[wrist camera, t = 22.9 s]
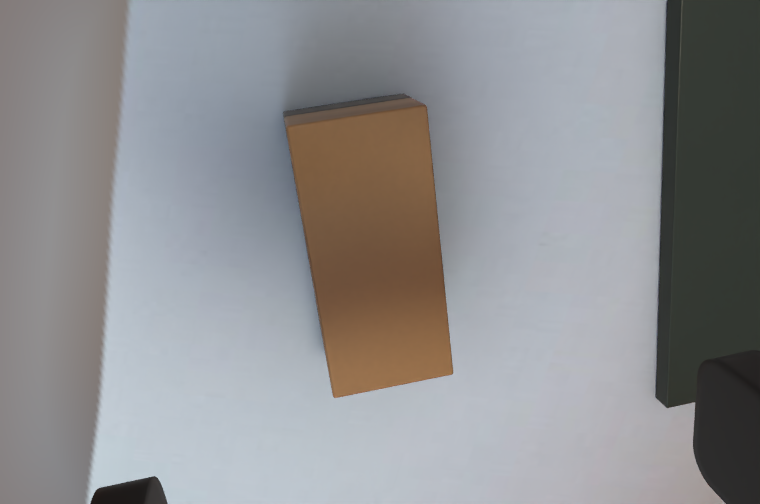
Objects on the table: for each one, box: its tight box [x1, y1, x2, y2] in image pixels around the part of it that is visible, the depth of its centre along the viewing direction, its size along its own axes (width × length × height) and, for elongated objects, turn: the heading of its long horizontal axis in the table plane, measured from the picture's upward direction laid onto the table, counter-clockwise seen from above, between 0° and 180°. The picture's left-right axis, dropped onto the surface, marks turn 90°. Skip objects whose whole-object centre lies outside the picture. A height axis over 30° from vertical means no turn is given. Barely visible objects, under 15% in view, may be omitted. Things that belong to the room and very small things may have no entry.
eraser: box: [283, 94, 453, 398], centre depth 26 cm, size 11×5×4 cm, turn 7°
